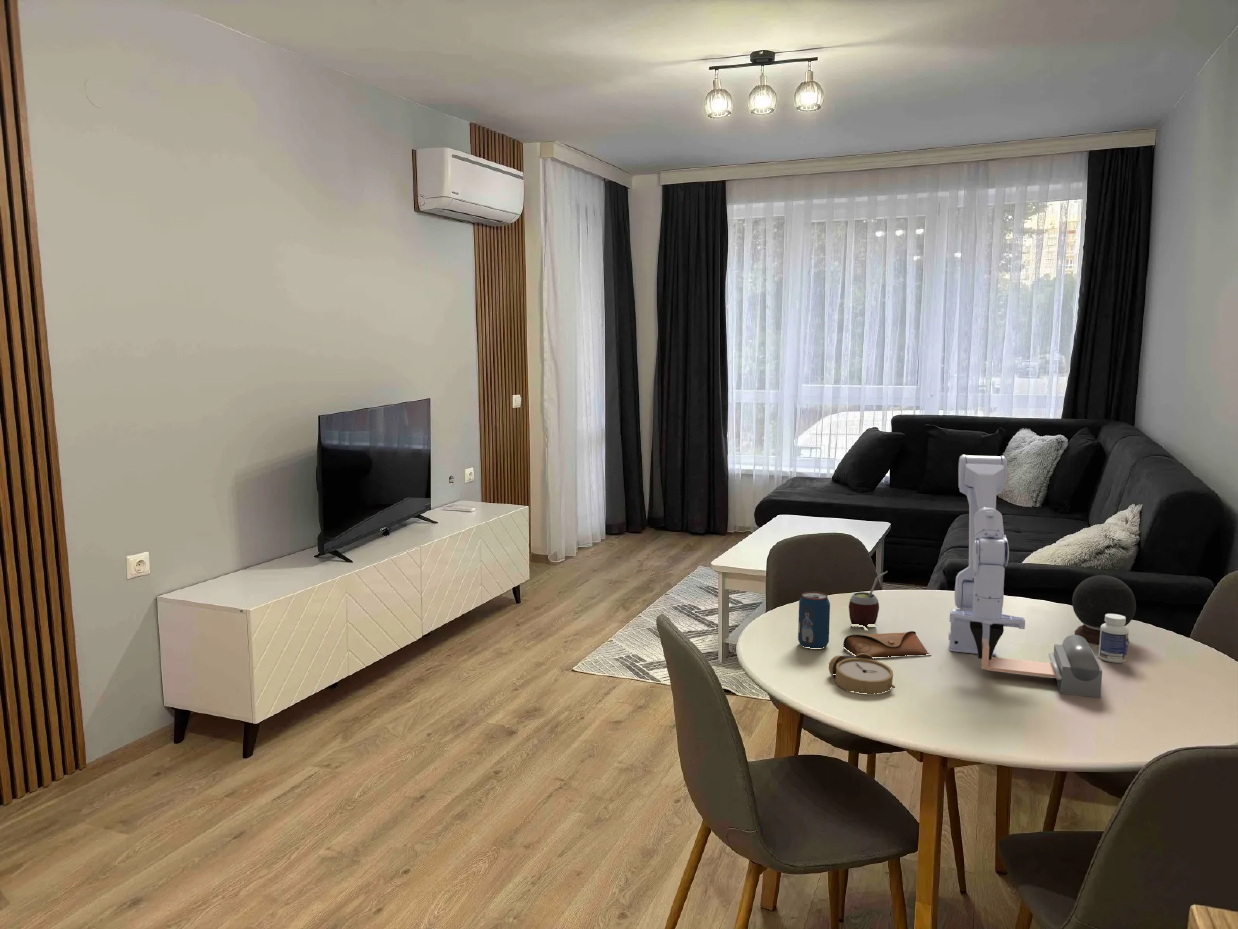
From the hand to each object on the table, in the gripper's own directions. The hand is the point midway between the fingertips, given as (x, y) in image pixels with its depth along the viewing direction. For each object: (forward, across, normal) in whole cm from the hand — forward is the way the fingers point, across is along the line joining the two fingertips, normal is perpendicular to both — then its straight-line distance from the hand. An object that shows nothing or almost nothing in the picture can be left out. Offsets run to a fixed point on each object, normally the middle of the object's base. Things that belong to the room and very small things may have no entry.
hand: (984, 657), depth 188 cm
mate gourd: (+3, -26, +23) cm, 35 cm away
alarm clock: (+4, -24, -14) cm, 28 cm away
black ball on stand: (+3, +27, +33) cm, 43 cm away
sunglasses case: (+4, -20, +6) cm, 21 cm away
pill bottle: (+3, +27, +18) cm, 33 cm away
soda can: (+3, -36, +5) cm, 37 cm away
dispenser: (+3, +17, 0) cm, 18 cm away
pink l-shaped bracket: (+1, +6, 0) cm, 7 cm away
